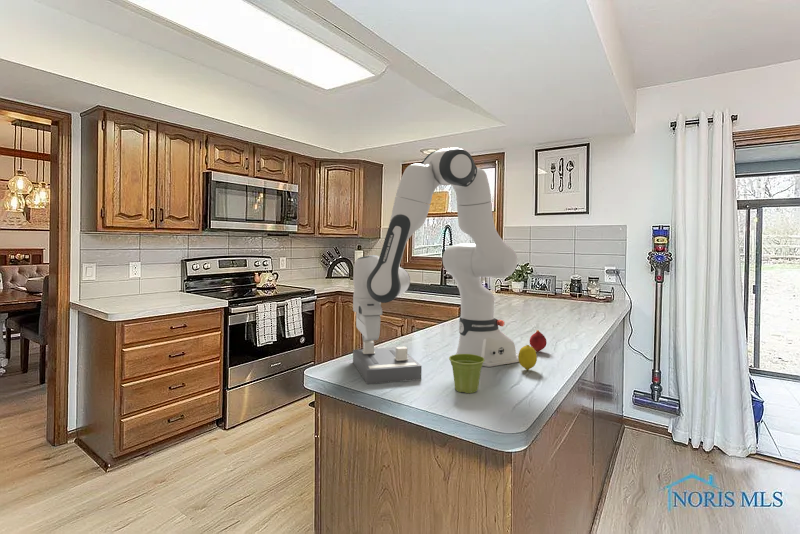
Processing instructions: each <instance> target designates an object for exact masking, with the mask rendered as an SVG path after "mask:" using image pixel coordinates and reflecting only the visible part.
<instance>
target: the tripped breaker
mask: <svg viewBox="0 0 800 534" xmlns="http://www.w3.org/2000/svg"><path fill="white" fill-rule="evenodd" d="M362 343H363V344H362V349H363V351H362V352H363V354H375V352H374V349H375V342H374V340H371V341H363V340H362Z"/></svg>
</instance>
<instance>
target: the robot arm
mask: <svg viewBox="0 0 800 534" xmlns="http://www.w3.org/2000/svg"><path fill="white" fill-rule="evenodd" d="M400 178H401V179H400V181H399V182H398V183H399V184H398V187H397V189H396V192H395V197H394V201H393V207H392V211H391V216H390V220H389V224H388V228H387V231H386V235H385V237H384V240H383V241H384V242H383V244H382V249H381V251H380V254H379V255H375V254H372V255H365V256H360V257H358V258H357V259H356V260H355V263H354V265H353V266H354V267H353V273H352V274H353V275H352V276H353V277H352V280H353V281H352V282H353V283H352V284H353V287H354V288H353V289H354V290H353V295H352V297H353V298H352V307H353V308H352V311H353V312H354V313H356V314H355V315H356V318H355V319H356V320H355V324H356V329H357V330H358V331H359V332H360V334H362V335H361V337H362V342H363V341H378V340H379V337H380V333H381V332H380V331H381V316H382V315H383V307H382V303H384V304H386V303H390V302H392V301H394V300H395V299H396V298H397V297H400V296H401V295H403V294H404V293H405V292H407V291H408V289H409V288H410V285H411V277H410V274H409V273H408V271H407V270H406V269H404V268H403V267H401V266H400V265H401V261H402V259H403V256H404V252H405V249H406V246H407V243H408V241H409V239H410V238H411V237H412V235H413V234H414V233H416V232H417V231H418V230H419V229H420V228H421V227H423V225H424V224H425V221H426V220H427V217H428V214H429V211H430V208H431V203H432V200H433V194H434V193H435V191H436V189H437V188H438V187H439V186H441V185H442V186H452V187H453V189H454V192H455V195H456V198H455V200H456V210H457V211H456V212H457V221H458V222H457V223H458V227H459V229H460V230H461V232H462V233H464V234H466V235H468V236H469V237H470V238H471V239H472V240H473V243H459V244H458V243H457V244H453V245H452V244H451V245H449V246H448V247H447V248H446V249H445V250H444V252H443V254H442V265H443V269H445V271H446V272H447V273H448V274H450V276H451V277H452V278H453V279H454V281H455V283H456V285H457V288H458V291H459V296H460V316H459V321H458V324H459V325H458V331H459V332H458V333H459V338H458V339H459V340H458V344H457V350H456V354H473V355H478V356H481V357H483V358H484V359H485V361H484V362H483V365H482V367H489V368H490V367H496V366H502V365H506V364H507V365H508V364H509V365H510V364H514V363H519V360H518V355H519V353H517V351H516V346H515V342H514V340H512V338H510V337H509V336H508V335H507V334H505V333H504V332H503V331H502V330H500V329H499V327H504V326H505V321H504V320H503V319H497V318H495V295H494V294H493V292H492V291H491V290H489V289H488V288H487V287H485V285H483V284H482V281H481V278H491V279H493V278H494V279H498V278H505V277H510V276H511V275H513V273H514V272H515V270H516V269H517V266H518V256H517V253H516V251H515V249H513V247H511V246H510V245H508V244H507V243H506V242H505V241H504V240H503V239H502V237H501V236H500V234H499V233H498V231H497V228H496V226H495V223H494V215H493V207H492V194H491V189H490V183H489V179H488V176H487V173H486V172H485V170H483V169H482V168H480V167H477V165H476V164H475V160H474V158H473V157H472V155H471V154H470V152H468V151H467V150H465V149H463V148H459V147H450V148H449V147H447V148H442V149H439V150H435V151H432V152H430V153H428V154H427V155H426V157H424V159H423V160H422V162H420V163H413V164H409V165H408V166H407V167H406V168H405V169H404V171H403V173H402V176H401V177H400ZM456 354H455V355H456Z"/></svg>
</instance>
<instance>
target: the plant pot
mask: <svg viewBox="0 0 800 534" xmlns="http://www.w3.org/2000/svg"><path fill="white" fill-rule="evenodd" d="M448 359H449V361H450V364H451V367H452V374H453V375H452V376H453V382H454V389H455V391H457V392H458V393H465V394H474V393H476V392H477V391H478V390H479V385H480V378H481V372H482V371H481V370H482V367H483V366H482V365H483V362H484V361H485V359H484V358H483V357H481V356H478V355H473V354H452V355H450V356H449V357H448Z"/></svg>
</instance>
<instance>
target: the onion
mask: <svg viewBox="0 0 800 534" xmlns="http://www.w3.org/2000/svg"><path fill="white" fill-rule="evenodd" d="M529 346H531V347H532V348H534V350H535V351H536V353H538V352H541V351H542V350H543V349H545V347H546V346H547V339H546V337H545V335H544V334H543V333H542V332H540V330H539V329H536V332H534V333H532V335H531V336H530V338H529Z"/></svg>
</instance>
